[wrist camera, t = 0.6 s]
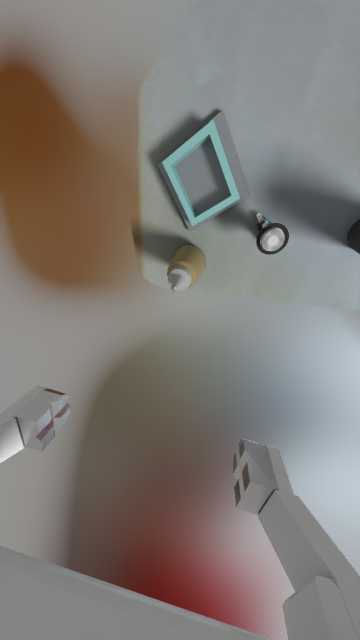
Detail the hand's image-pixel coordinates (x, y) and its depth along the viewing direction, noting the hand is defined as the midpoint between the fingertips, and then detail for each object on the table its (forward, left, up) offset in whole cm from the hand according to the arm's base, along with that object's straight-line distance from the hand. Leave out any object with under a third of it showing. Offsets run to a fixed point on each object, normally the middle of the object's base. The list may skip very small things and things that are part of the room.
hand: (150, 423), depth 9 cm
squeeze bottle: (+9, +3, -45) cm, 46 cm away
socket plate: (-1, -10, -45) cm, 46 cm away
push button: (-9, +4, -45) cm, 46 cm away
